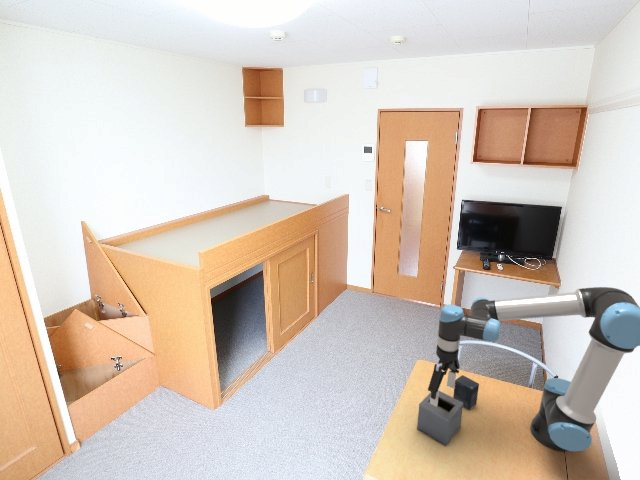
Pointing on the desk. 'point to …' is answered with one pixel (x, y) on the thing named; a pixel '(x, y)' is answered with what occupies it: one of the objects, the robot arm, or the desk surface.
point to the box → (466, 391)
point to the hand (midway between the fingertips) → (442, 395)
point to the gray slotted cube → (440, 418)
